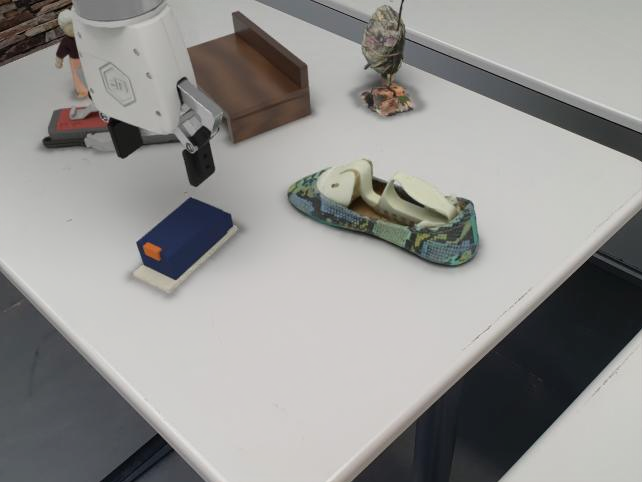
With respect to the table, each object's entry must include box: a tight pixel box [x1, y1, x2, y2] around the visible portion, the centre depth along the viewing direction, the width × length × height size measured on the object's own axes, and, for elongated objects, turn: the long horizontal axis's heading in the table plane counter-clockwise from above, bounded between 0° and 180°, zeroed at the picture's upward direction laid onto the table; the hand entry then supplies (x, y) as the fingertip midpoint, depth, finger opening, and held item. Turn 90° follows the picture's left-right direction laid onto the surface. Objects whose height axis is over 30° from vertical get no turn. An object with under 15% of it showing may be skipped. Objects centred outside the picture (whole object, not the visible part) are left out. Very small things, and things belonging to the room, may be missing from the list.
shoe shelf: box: [186, 10, 312, 145], centre depth 97 cm, size 12×20×8 cm, turn 32°
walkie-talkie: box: [41, 102, 179, 153], centre depth 94 cm, size 9×4×20 cm
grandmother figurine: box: [54, 8, 89, 99], centre depth 99 cm, size 8×4×13 cm, turn 129°
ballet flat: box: [286, 157, 480, 266], centre depth 78 cm, size 9×24×8 cm, turn 60°
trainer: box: [132, 196, 239, 294], centre depth 77 cm, size 12×5×5 cm, turn 147°
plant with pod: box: [360, 0, 414, 118], centre depth 91 cm, size 8×11×20 cm
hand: (166, 164), depth 69 cm, fingers open, 9 cm apart
